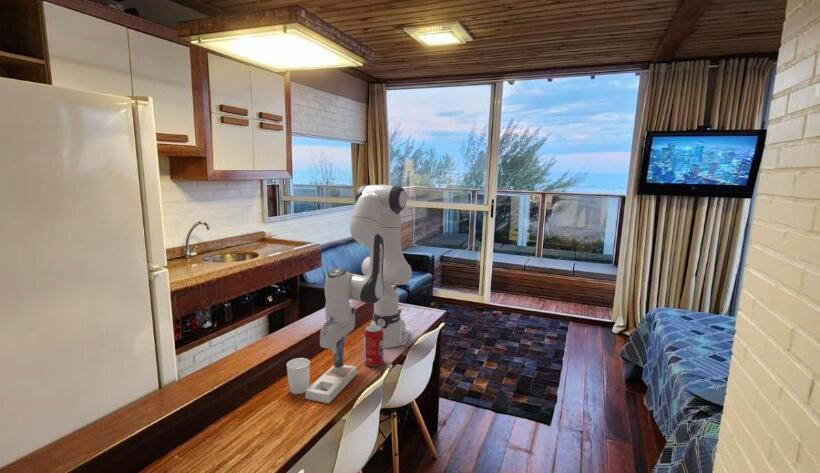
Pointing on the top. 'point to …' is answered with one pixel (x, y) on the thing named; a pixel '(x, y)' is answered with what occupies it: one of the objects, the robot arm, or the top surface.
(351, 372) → the dock board
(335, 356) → the pin
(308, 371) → the white cup
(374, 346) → the soda can
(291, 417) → the top surface
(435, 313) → the top surface
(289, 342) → the top surface
